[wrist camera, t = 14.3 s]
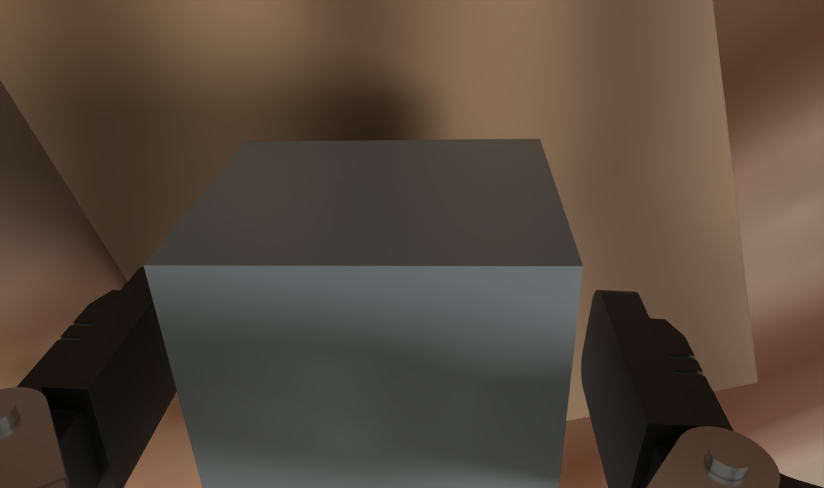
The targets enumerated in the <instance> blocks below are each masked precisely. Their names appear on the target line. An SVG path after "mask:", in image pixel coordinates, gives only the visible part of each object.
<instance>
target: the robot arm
mask: <svg viewBox="0 0 824 488" xmlns="http://www.w3.org/2000/svg"><path fill="white" fill-rule="evenodd" d="M581 379H582V386H583V391H584V395H585V399H586V402H587V406H588V410H589V414H590V418H591V422H592V426H593V430H594V434H595V438H596V442H597V445H598V449H599V453H600V457H601V461H602V465H603V469H604V473H605V477H606V481H607V485H608V488H823V487H820V486H816V485H813V484H810V483H806V482H803V481H799V480H796V479H793V478H790V477H788V476H785V475H783V474H781V473H779V470H778V467H777V465H776V464H775V462H774V460H773V459H772V458H771V456H770V455H769V454H768V453H767V452H766V451H765V450H764V449H763V448H762V447H760V446H759V445H758V444H757V443H755V442H754V441H752V440H751V439H749V438H747V437H745V436H743V435H741V434H739V433H736V432H734V431H733V429H732V427H731V425H730V423H729V421H728V419H727V417H726V416H725V414H724V412H723V410H722V408H721V406H720V404H719V402H718V400H717V398H716V396H715V394H714V392H713V390H712V388H711V386H710V384H709V382H708V380H707V378H706V376H703V371H702V369H701V367H700V365H699V363H698V361H697V360H695V355H694V353H693V351H692V349H691V347H690V345H689V343H688V341H687V339H686V337H685V336H684V335H683V334H682V333H680V332H679V331H678V330H677V329H676V328H675V327H674V326H672V325H671V324H670V323H669V322H668V321H667V320H666V319H653V318H650V317H649V315H648V313H647V311H646V309H645V306H644V304H643V302H642V300H641V298H640V295H639V294H638V293H637V292H635V291H615V290H596V291H595V293H594V295H593V298H592V303H591V309H590V314H589V319H588V325H587V330H586V336H585V341H584V346H583V352H582V359H581ZM176 391H177V389H176V386H175V382H174V378H173V374H172V370H171V367H170V363H169V359H168V355H167V352H166V348H165V344H164V340H163V337H162V333H161V329H160V325H159V322H158V318H157V314H156V310H155V306H154V303H153V299H152V295H151V291H150V288H149V284H148V280H147V276H146V273H145V269H144V266H143V267H140V268H139V269H138V270H137V271H136V272H135V273H134V275H133V276H132V277H131V278H130V280H129V281H128V282H127V283H126V284H125V286H124V287H123V288H122V289H121V290H112V291H110V292H108V293H107V294H105V295H104V296H102V297H100V298H99V299H97V300H95V301H94V302H92V303H91V304H89V305H88V306H87V307H86V308H85V309H84V311H83V312H82V313H81V314H80V315H79V316H78V317H77V319H76V320H75V321H74V325H70V327H69V328H68V329H67V330H66V331H65V332H64V333H63V335H62V336H61V340H57V341H56V343H55V344H54V345H53V346H52V347H51V348H50V349H49V351H48V352H47V353H46V354H45V355H44V356H43V357H42V359H41V360H40V361H39V362H38V363H37V364H36V365H35V367H34V368H33V369H32V370H31V371H30V372H29V373H28V375H27V376H26V377H25V378H24V379H23V380H22V381H21V383H20V384H19V385H18V386H17V387H14V388H6V389H1V390H0V488H124V486H125V484H126V482H127V480H128V479H129V477H130V475H131V473H132V471H133V469H134V468H135V466H136V464H137V462H138V460H139V459H140V457H141V455H142V453H143V451H144V449H145V448H146V446H147V444H148V442H149V440H150V439H151V437H152V435H153V433H154V431H155V430H156V428H157V426H158V424H159V422H160V420H161V419H162V417H163V415H164V413H165V411H166V410H167V408H168V406H169V404H170V402H171V400H172V399H173V397H174V395H175V393H176Z"/></svg>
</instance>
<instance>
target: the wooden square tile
mask: <svg viewBox="0 0 824 488" xmlns="http://www.w3.org/2000/svg"><path fill="white" fill-rule="evenodd" d="M0 80H1V82H2V84H3V85H4V87H5V88H6V90H7V91H8V93H9V95H10V96H11V98H12V99H13V101H14V103H15V104H16V106H17V107H18V109H19V111H20V112H21V114H22V115H23V117H24V118H25V120H26V122H27V123H28V125H29V126H30V128H31V130H32V131H33V133H34V134H35V136H36V138H37V139H38V141H39V142H40V144H41V145H42V147H43V149H44V150H45V152H46V153H47V155H48V157H49V158H50V160H51V161H52V163H53V165H54V166H55V168H56V169H57V171H58V172H59V174H60V176H61V177H62V179H63V180H64V182H65V184H66V185H67V187H68V188H69V190H70V191H71V193H72V195H73V196H74V198H75V199H76V201H77V203H78V204H79V206H80V207H81V209H82V211H83V212H84V214H85V215H86V217H87V218H88V220H89V222H90V223H91V225H92V226H93V228H94V230H95V231H96V233H97V234H98V236H99V238H100V239H101V241H102V242H103V244H104V245H105V247H106V249H107V250H108V252H109V253H110V255H111V257H112V258H113V260H114V261H115V263H116V265H117V266H118V268H119V269H120V271H121V272H122V274H123V276H124V277H125V279H126V280H127V282H128V281H129V280H130V278H131V277H132V276H133V275H134V273H135V272H136V271H137V270H138V269H139V268H140V267H143V266H144V264H145V263H146V262H147V261H148V260H149V258H150V257H151V256H152V255H153V253H154V252H155V251H156V250H157V249H158V247H159V246H160V245H161V244H162V242H163V241H164V240H165V239H166V238H167V236H168V235H169V234H170V233H171V231H172V230H173V229H174V228H175V227H176V225H177V224H178V223H179V222H180V220H181V219H182V218H183V217H184V216H185V214H186V213H187V212H188V211H189V209H190V208H191V207H192V206H193V205H194V203H195V202H196V201H197V200H198V199H199V197H200V196H201V195H202V194H203V192H204V191H205V190H206V189H207V188H208V186H209V185H210V184H211V183H212V181H213V180H214V179H215V178H216V177H217V175H218V174H219V173H220V172H221V170H222V169H223V168H224V167H225V166H226V164H227V163H228V162H229V161H230V159H231V158H232V157H233V156H234V155H235V153H236V152H237V151H238V150H239V148H240V147H241V146H242V145H243V144H244V142H263V141H358V140H452V139H540V140H541V143H542V146H543V149H544V152H545V155H546V158H547V161H548V164H549V167H550V170H551V173H552V176H553V179H554V182H555V185H556V188H557V191H558V193H559V196H560V199H561V202H562V205H563V208H564V211H565V214H566V217H567V220H568V223H569V226H570V229H571V232H572V235H573V238H574V241H575V244H576V247H577V249H578V252H579V255H580V258H581V261H582V264H583V273H582V282H581V291H580V300H579V309H578V318H577V328H576V337H575V346H574V355H573V364H572V373H571V382H570V391H569V400H568V409H567V419H566V421H569V420H574V419H579V418H584V417H589V416H590V414H589V410H588V406H587V402H586V399H585V395H584V391H583V386H582V379H581V359H582V352H583V346H584V341H585V336H586V330H587V325H588V319H589V314H590V309H591V303H592V298H593V295H594V293H595V291H596V290H615V291H635V292H637V293H638V294H639V295H640V298H641V300H642V302H643V304H644V306H645V309H646V311H647V313H648V315H649V317H650V318H653V319H666V320H667V321H668V322H669V323H670V324H671V325H672V326H674V327H675V328H676V329H677V330H678V331H679V332H680V333H682V334H683V335H684V336H685V337H686V339H687V341H688V343H689V345H690V347H691V349H692V351H693V353H694V355H695V360H697V361H698V363H699V365H700V367H701V369H702V371H703V376H706V378H707V380H708V382H709V384H710V386H711V388H712V390H713V391H717V390H722V389H727V388H732V387H737V386H742V385H747V384H752V383H757V382H758V381H757V373H756V364H755V356H754V347H753V339H752V330H751V322H750V313H749V305H748V296H747V288H746V279H745V271H744V262H743V254H742V245H741V237H740V228H739V220H738V211H737V203H736V194H735V186H734V177H733V169H732V160H731V152H730V143H729V135H728V126H727V118H726V109H725V101H724V93H723V84H722V76H721V67H720V59H719V50H718V42H717V33H716V25H715V16H714V8H713V0H0Z"/></svg>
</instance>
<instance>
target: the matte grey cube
mask: <svg viewBox="0 0 824 488" xmlns="http://www.w3.org/2000/svg"><path fill="white" fill-rule="evenodd" d="M144 269H145V273H146V276H147V280H148V284H149V288H150V291H151V295H152V299H153V303H154V306H155V310H156V314H157V318H158V322H159V325H160V329H161V333H162V337H163V340H164V344H165V348H166V352H167V355H168V359H169V363H170V367H171V370H172V374H173V378H174V382H175V386H176V389H177V393H178V397H179V401H180V404H181V408H182V412H183V416H184V419H185V423H186V427H187V431H188V434H189V438H190V442H191V446H192V450H193V453H194V457H195V461H196V465H197V468H198V472H199V476H200V480H201V483H202V487H203V488H559V482H560V473H561V464H562V455H563V446H564V437H565V428H566V419H567V409H568V400H569V391H570V382H571V373H572V364H573V355H574V346H575V337H576V328H577V318H578V309H579V300H580V291H581V282H582V273H583V264H582V261H581V258H580V255H579V252H578V249H577V247H576V244H575V241H574V238H573V235H572V232H571V229H570V226H569V223H568V220H567V217H566V214H565V211H564V208H563V205H562V202H561V199H560V196H559V193H558V191H557V188H556V185H555V182H554V179H553V176H552V173H551V170H550V167H549V164H548V161H547V158H546V155H545V152H544V149H543V146H542V143H541V140H540V139H452V140H358V141H263V142H244V144H243V145H242V146H241V147H240V148H239V150H238V151H237V152H236V153H235V155H234V156H233V157H232V158H231V159H230V161H229V162H228V163H227V164H226V166H225V167H224V168H223V169H222V170H221V172H220V173H219V174H218V175H217V177H216V178H215V179H214V180H213V181H212V183H211V184H210V185H209V186H208V188H207V189H206V190H205V191H204V192H203V194H202V195H201V196H200V197H199V199H198V200H197V201H196V202H195V203H194V205H193V206H192V207H191V208H190V209H189V211H188V212H187V213H186V214H185V216H184V217H183V218H182V219H181V220H180V222H179V223H178V224H177V225H176V227H175V228H174V229H173V230H172V231H171V233H170V234H169V235H168V236H167V238H166V239H165V240H164V241H163V242H162V244H161V245H160V246H159V247H158V249H157V250H156V251H155V252H154V253H153V255H152V256H151V257H150V258H149V260H148V261H147V262H146V263H145V264H144Z"/></svg>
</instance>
